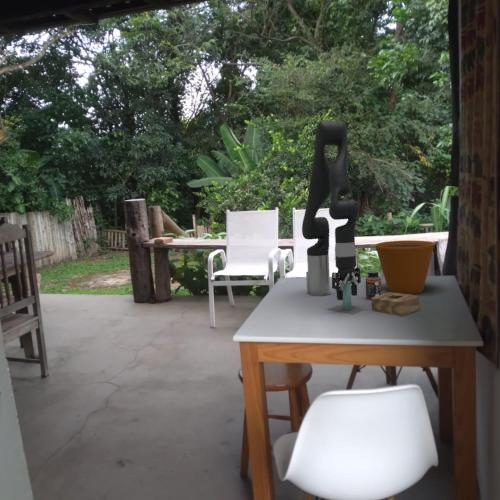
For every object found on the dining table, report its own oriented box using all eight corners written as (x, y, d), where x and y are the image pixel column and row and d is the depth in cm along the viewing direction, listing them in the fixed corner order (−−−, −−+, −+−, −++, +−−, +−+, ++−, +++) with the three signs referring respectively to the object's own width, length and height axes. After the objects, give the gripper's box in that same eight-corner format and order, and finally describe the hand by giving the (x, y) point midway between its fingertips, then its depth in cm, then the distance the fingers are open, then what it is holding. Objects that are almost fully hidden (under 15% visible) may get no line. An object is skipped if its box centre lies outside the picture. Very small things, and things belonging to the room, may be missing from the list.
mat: (326, 310, 182) (326, 309, 182) (341, 305, 188) (341, 304, 188) (353, 315, 173) (353, 314, 173) (367, 310, 179) (367, 309, 179)
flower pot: (446, 289, 206) (446, 242, 203) (410, 298, 193) (409, 248, 190) (400, 282, 225) (399, 239, 223) (365, 290, 212) (363, 245, 210)
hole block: (371, 311, 177) (371, 298, 177) (390, 304, 185) (389, 291, 185) (401, 316, 168) (400, 302, 168) (419, 309, 176) (418, 295, 176)
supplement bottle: (381, 301, 192) (381, 272, 190) (366, 301, 193) (365, 273, 192) (380, 297, 198) (380, 270, 196) (365, 297, 199) (365, 270, 197)
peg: (341, 309, 181) (340, 283, 180) (346, 307, 183) (345, 281, 181) (348, 310, 179) (347, 284, 177) (352, 309, 180) (352, 282, 179)
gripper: (349, 251, 185) (350, 293, 187) (325, 256, 176) (327, 300, 178) (365, 252, 180) (367, 295, 182) (341, 257, 171) (343, 302, 172)
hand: (347, 297), depth 180 cm, fingers open, 8 cm apart
